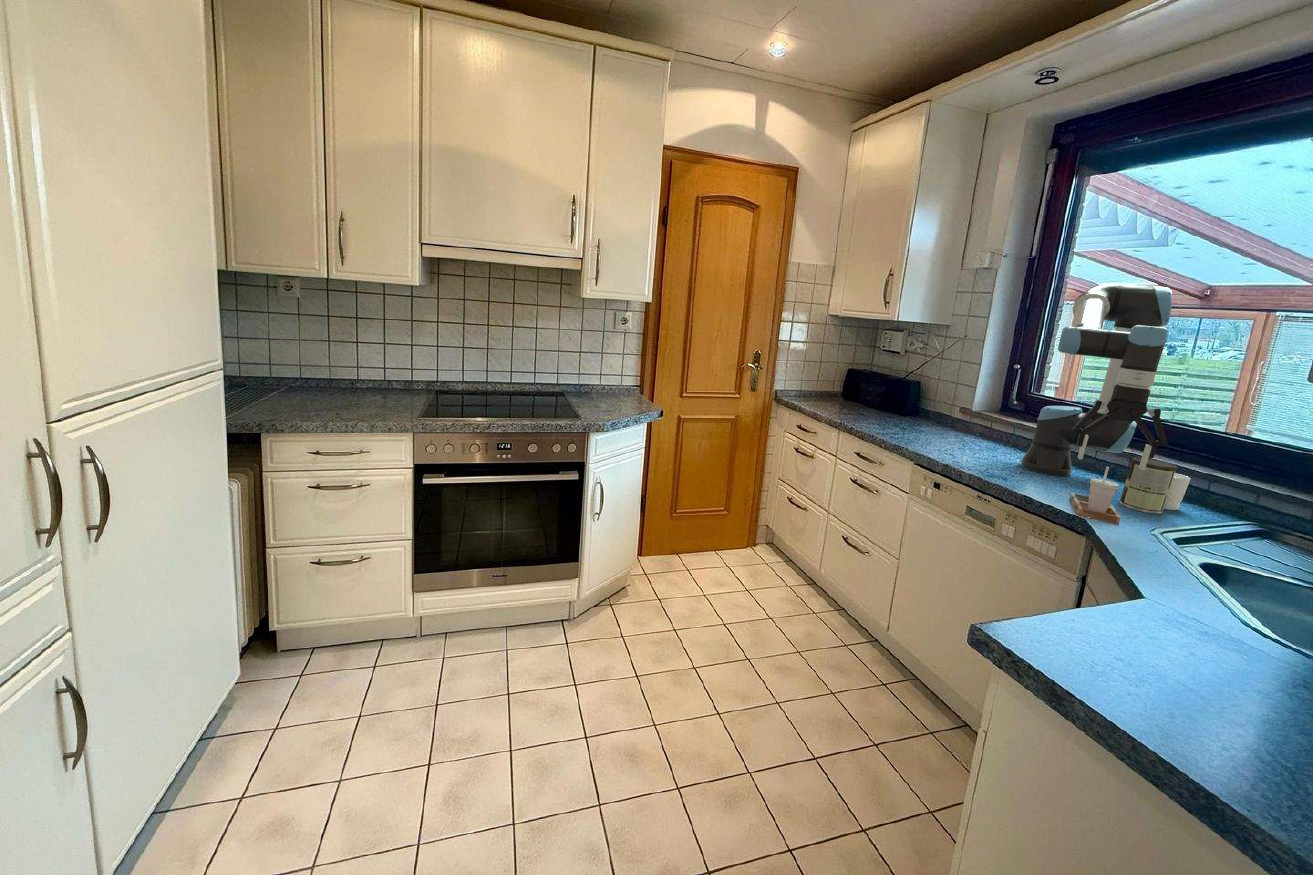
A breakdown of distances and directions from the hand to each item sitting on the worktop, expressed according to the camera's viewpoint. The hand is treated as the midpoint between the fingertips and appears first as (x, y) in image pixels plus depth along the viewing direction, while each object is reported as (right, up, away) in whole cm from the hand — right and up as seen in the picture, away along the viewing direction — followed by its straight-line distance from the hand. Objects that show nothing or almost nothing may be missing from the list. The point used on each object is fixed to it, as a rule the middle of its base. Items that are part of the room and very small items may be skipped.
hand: (1110, 463), depth 157 cm
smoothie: (-2, -15, +3) cm, 15 cm away
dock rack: (0, -14, +7) cm, 15 cm away
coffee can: (+21, -14, +15) cm, 29 cm away
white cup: (+31, -14, +19) cm, 39 cm away
